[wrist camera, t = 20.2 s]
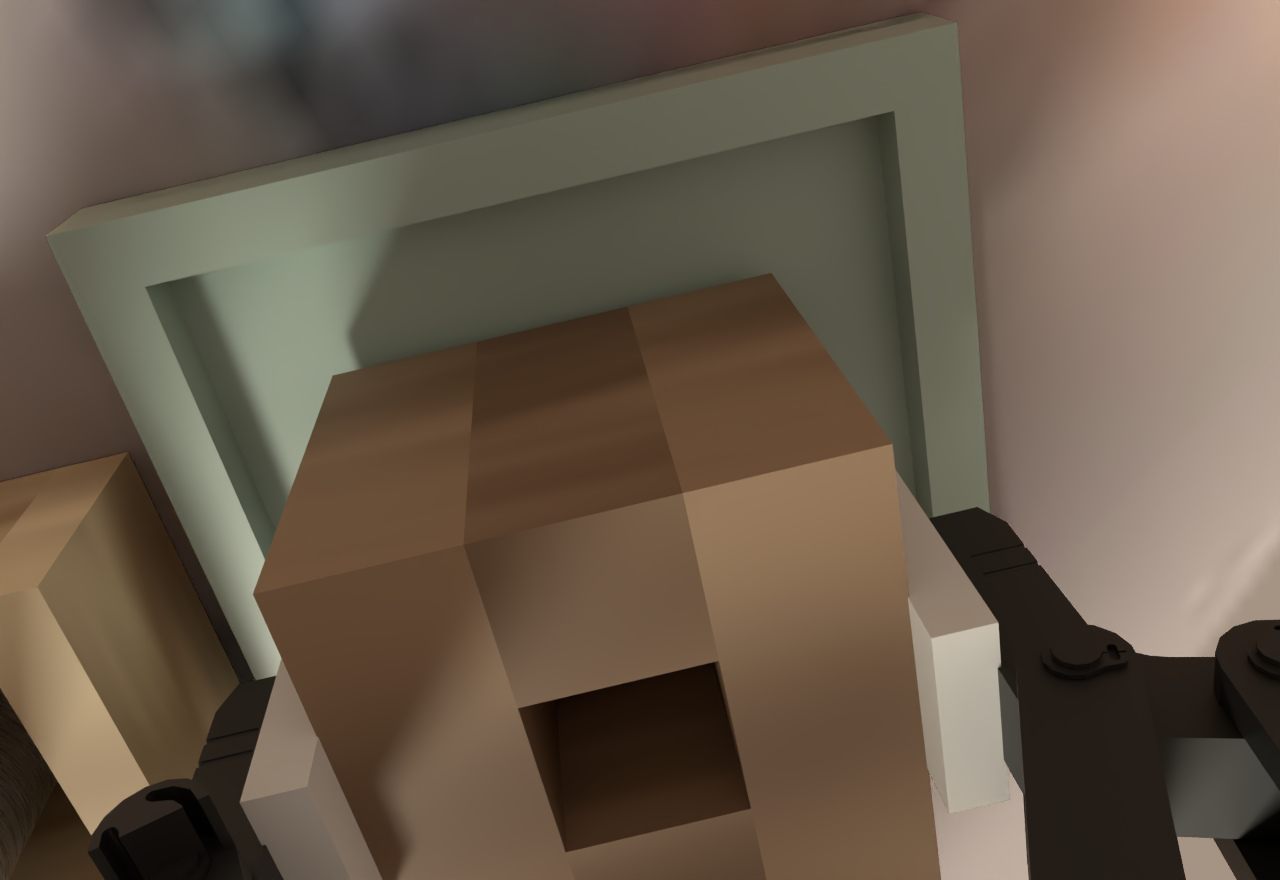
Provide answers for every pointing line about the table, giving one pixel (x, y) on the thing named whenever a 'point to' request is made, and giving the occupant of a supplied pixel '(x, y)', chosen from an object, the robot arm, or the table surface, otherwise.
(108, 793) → the block
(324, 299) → the tray
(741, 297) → the block
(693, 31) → the table surface
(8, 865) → the cylinder
